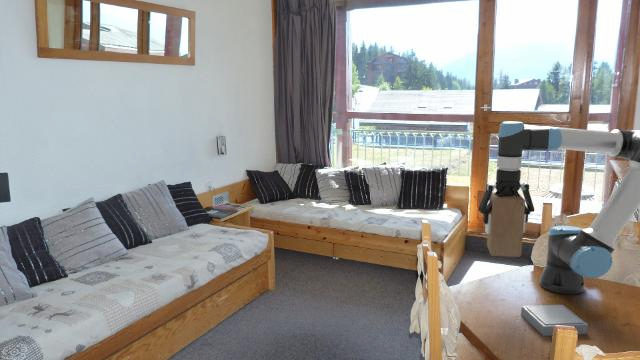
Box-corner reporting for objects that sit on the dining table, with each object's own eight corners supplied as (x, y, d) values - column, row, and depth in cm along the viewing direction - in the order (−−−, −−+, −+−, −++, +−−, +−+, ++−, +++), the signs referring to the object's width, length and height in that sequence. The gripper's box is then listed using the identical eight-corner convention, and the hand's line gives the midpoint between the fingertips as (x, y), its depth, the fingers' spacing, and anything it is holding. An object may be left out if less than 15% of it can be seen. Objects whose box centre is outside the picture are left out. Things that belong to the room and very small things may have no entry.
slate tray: (561, 313, 163) (562, 303, 163) (587, 333, 150) (588, 324, 149) (520, 314, 162) (521, 305, 162) (543, 335, 149) (543, 325, 148)
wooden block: (521, 258, 163) (526, 199, 159) (490, 256, 165) (493, 198, 161) (516, 248, 172) (520, 192, 168) (486, 247, 174) (489, 191, 170)
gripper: (537, 166, 167) (532, 228, 172) (469, 167, 166) (466, 230, 170) (549, 169, 160) (544, 234, 164) (478, 171, 158) (475, 236, 163)
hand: (504, 232), depth 167 cm, fingers closed on wooden block, 11 cm apart
